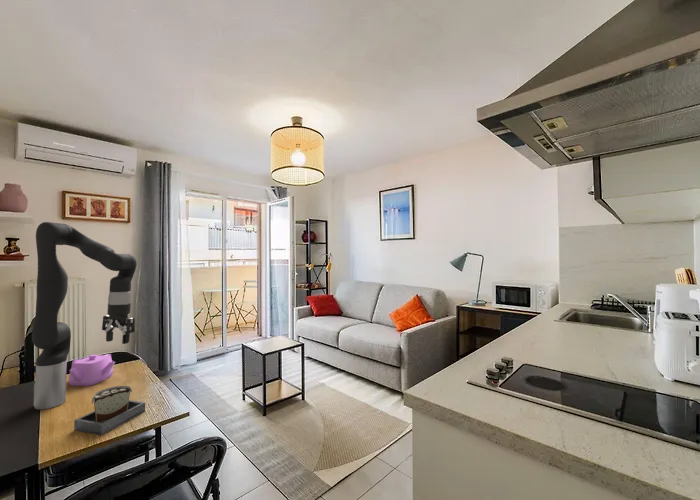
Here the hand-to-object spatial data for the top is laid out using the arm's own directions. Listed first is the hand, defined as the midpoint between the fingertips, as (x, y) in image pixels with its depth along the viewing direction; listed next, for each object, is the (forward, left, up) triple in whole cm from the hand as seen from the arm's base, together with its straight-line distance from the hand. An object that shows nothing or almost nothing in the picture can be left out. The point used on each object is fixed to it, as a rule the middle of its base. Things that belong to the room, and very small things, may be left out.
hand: (117, 342), depth 125 cm
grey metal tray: (+7, -7, -27) cm, 29 cm away
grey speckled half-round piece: (+5, -7, -26) cm, 27 cm away
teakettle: (-38, +19, -27) cm, 50 cm away
